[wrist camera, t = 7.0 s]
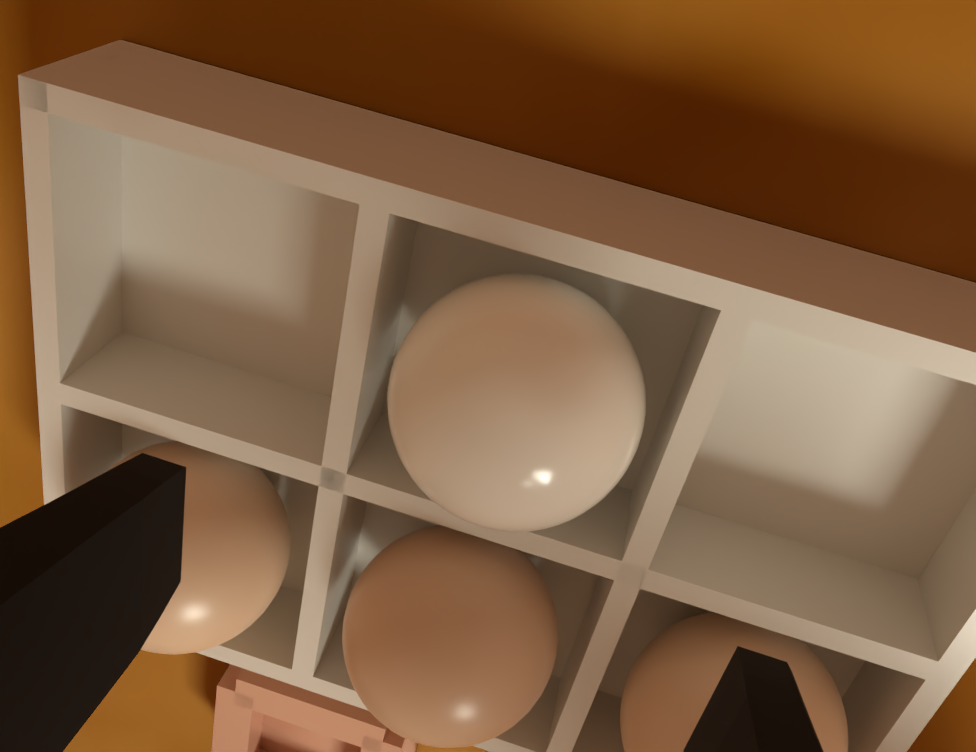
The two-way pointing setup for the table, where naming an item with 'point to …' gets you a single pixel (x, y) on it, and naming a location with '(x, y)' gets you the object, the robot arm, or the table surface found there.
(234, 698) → the egg cup
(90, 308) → the carton
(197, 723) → the table surface
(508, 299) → the white rounded ball
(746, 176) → the table surface
